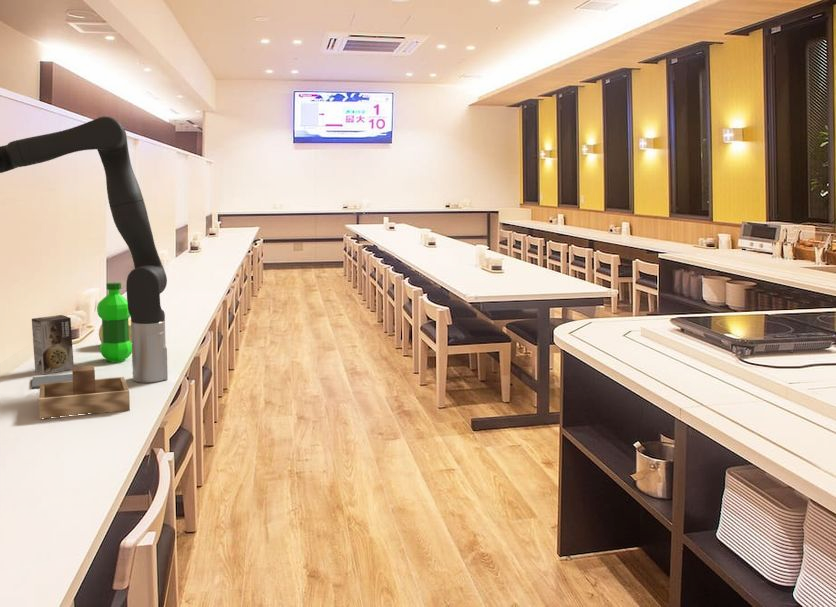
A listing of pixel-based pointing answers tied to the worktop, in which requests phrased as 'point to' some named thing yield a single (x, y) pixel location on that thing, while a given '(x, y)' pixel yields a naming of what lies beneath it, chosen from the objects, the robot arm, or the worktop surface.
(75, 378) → the walnut block
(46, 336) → the coffee box
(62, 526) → the worktop surface
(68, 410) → the caddy
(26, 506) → the worktop surface
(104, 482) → the worktop surface
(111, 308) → the plastic bottle
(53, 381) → the slate mat
